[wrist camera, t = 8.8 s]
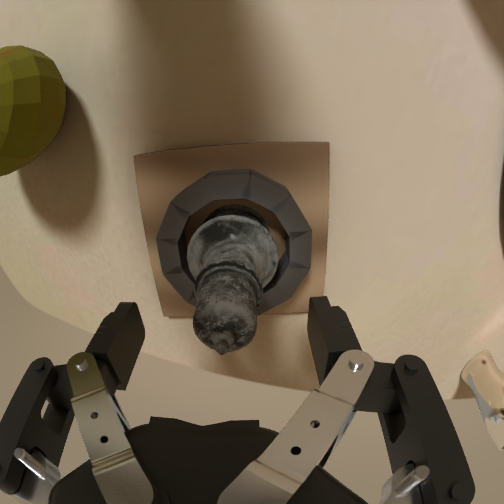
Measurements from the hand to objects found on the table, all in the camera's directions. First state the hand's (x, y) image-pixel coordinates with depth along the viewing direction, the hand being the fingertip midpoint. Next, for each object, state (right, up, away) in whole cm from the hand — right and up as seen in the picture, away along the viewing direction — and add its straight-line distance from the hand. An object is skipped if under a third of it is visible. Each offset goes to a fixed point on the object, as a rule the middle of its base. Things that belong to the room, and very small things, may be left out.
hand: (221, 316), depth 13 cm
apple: (-16, +15, +5) cm, 23 cm away
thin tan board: (0, +4, +10) cm, 11 cm away
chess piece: (0, +4, +9) cm, 10 cm away
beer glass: (+35, -14, +18) cm, 42 cm away
